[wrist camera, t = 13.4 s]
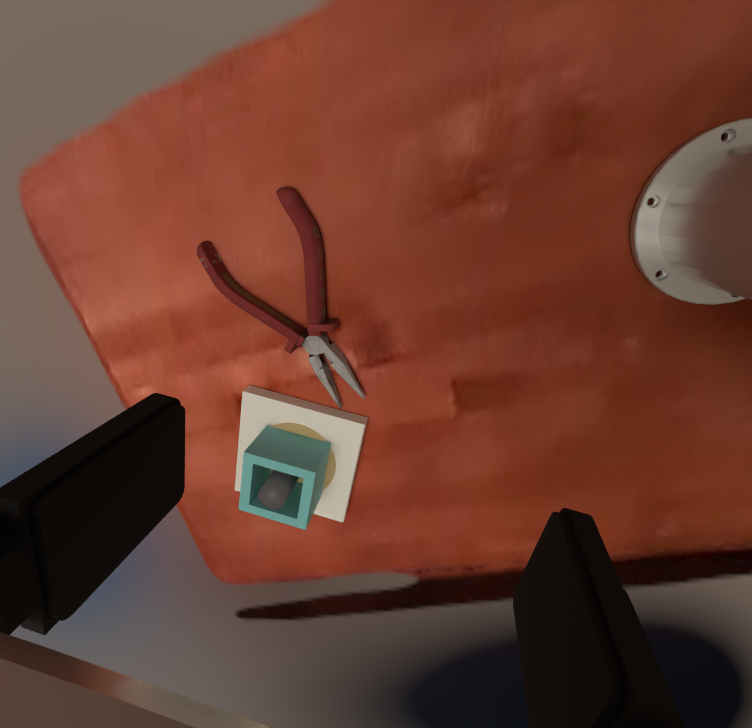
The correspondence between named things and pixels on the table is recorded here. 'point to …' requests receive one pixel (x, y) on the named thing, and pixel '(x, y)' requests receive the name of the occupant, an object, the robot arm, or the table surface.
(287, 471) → the collar
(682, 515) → the table surface
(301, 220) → the pliers
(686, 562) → the table surface
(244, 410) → the post stand
